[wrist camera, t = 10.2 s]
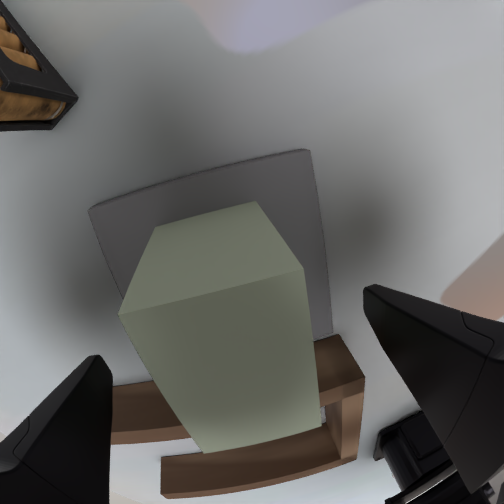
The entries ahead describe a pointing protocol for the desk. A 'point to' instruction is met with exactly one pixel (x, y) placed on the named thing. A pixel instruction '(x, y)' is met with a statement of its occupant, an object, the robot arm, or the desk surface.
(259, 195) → the mat
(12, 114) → the ammunition clip
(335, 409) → the frame
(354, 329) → the desk surface
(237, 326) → the block
